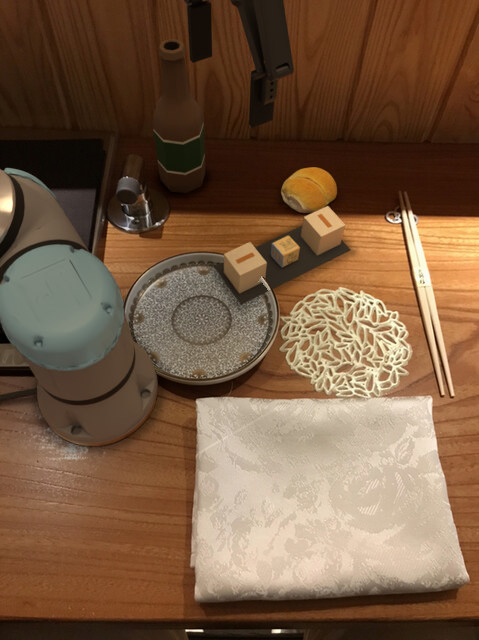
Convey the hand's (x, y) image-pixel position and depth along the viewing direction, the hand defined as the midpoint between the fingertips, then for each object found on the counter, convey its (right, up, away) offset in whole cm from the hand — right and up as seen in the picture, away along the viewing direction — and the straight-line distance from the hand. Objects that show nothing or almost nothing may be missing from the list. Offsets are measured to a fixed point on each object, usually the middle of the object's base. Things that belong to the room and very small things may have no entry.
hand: (229, 89), depth 66 cm
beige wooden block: (+14, -15, +22) cm, 30 cm away
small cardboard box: (+2, -21, +18) cm, 28 cm away
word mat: (+8, -18, +21) cm, 28 cm away
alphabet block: (+8, -18, +20) cm, 28 cm away
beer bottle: (-8, -3, +29) cm, 31 cm away
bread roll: (+13, -7, +28) cm, 31 cm away
